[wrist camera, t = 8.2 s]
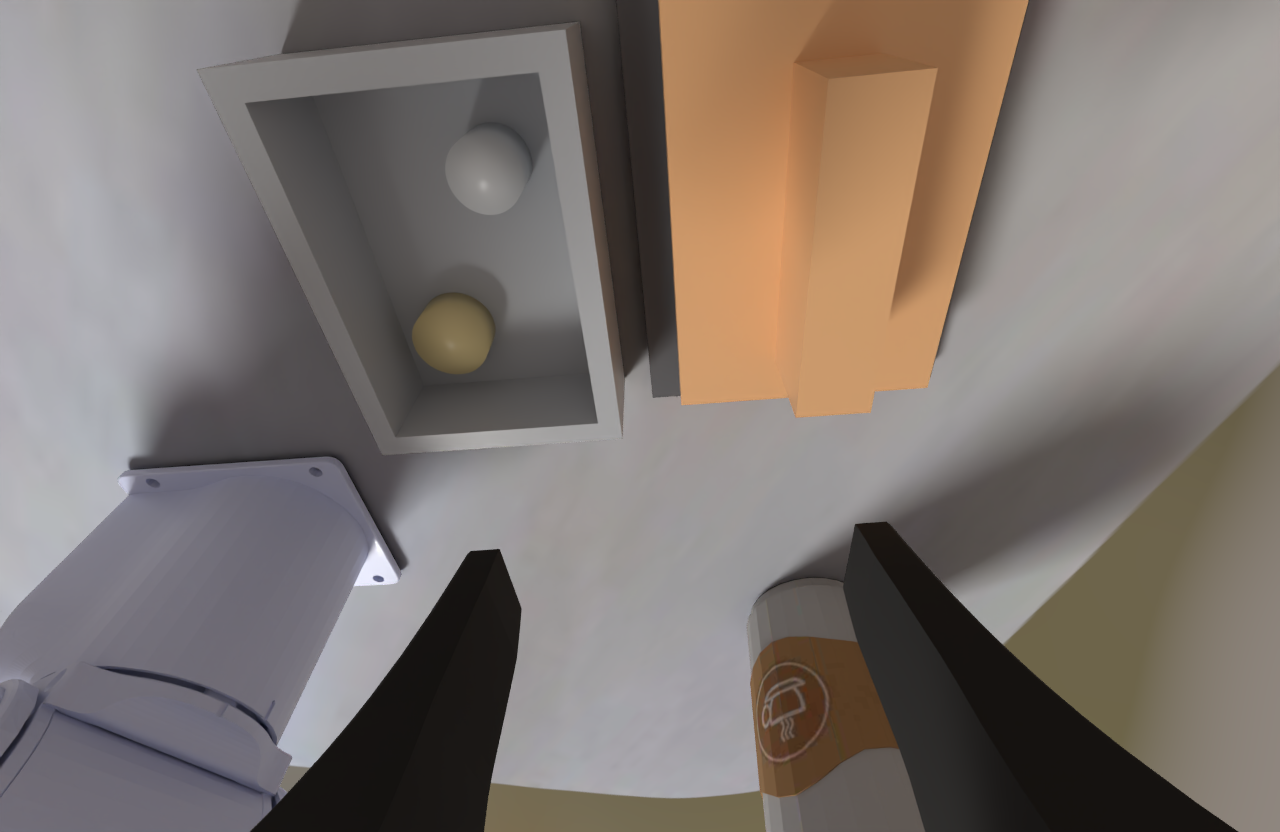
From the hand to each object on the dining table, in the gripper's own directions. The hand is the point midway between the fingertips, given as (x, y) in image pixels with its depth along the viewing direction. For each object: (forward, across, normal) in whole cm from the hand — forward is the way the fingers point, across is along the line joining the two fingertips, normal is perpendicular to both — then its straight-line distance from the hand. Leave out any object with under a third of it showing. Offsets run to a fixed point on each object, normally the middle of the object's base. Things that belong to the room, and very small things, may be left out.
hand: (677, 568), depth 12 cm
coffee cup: (+10, -6, +17) cm, 21 cm away
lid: (+10, -5, -4) cm, 11 cm away
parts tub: (+10, +5, -4) cm, 12 cm away
